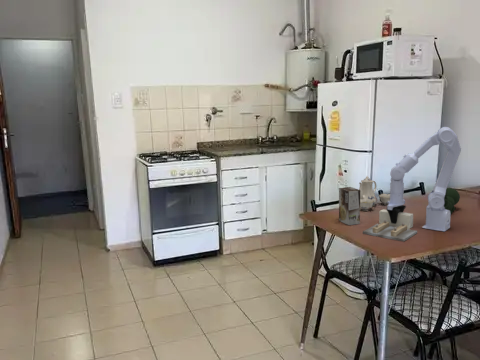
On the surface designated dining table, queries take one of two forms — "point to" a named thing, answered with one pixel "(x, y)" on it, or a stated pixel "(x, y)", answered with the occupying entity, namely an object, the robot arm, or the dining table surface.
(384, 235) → the grey peg board
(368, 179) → the chinaware
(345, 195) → the coffee box
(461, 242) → the dining table surface
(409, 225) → the clay bar
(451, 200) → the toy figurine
